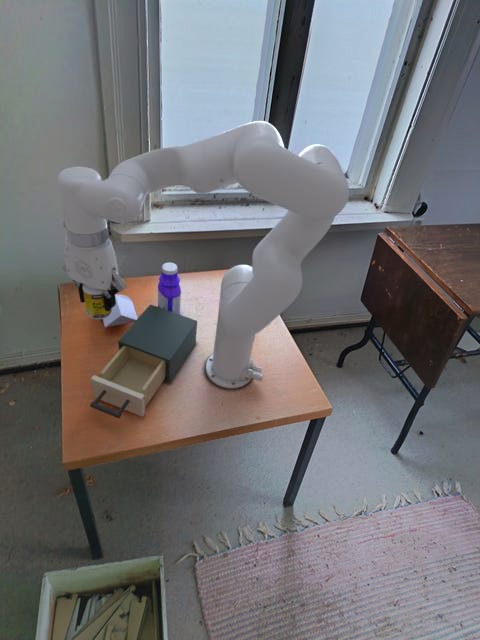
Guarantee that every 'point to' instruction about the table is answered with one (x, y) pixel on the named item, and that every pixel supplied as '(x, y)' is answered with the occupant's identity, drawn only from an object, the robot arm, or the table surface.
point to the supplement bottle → (95, 302)
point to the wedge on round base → (121, 312)
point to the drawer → (128, 381)
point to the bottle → (169, 289)
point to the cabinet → (162, 337)
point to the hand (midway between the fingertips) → (98, 302)
